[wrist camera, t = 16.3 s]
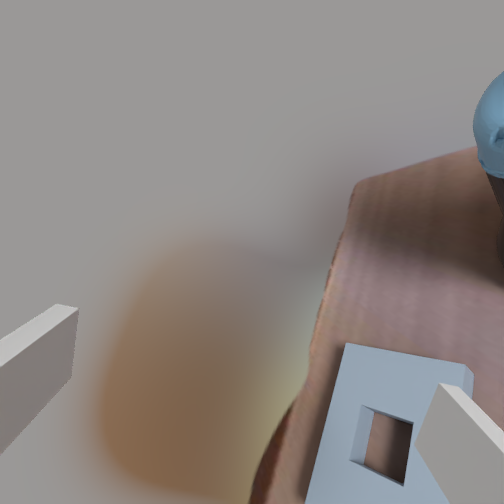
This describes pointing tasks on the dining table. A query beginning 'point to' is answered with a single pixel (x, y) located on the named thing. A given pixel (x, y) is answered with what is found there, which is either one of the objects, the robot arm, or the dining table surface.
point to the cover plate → (360, 421)
